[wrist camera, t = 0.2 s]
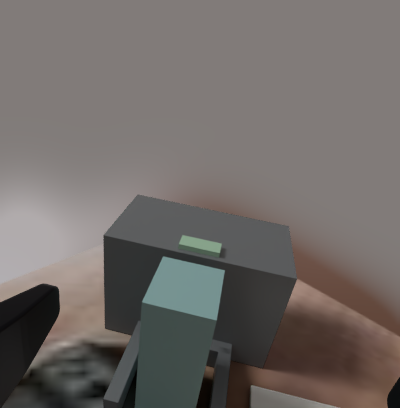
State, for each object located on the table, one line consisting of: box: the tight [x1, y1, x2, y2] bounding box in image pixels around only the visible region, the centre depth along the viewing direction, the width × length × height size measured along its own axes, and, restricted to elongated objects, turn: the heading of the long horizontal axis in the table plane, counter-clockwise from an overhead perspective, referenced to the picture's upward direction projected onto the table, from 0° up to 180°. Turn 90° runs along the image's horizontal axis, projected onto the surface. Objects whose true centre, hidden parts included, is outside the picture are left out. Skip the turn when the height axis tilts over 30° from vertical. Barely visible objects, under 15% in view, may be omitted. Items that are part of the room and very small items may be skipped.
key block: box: [135, 256, 225, 408], centre depth 20 cm, size 4×4×11 cm
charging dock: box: [103, 195, 297, 408], centre depth 24 cm, size 14×14×10 cm
